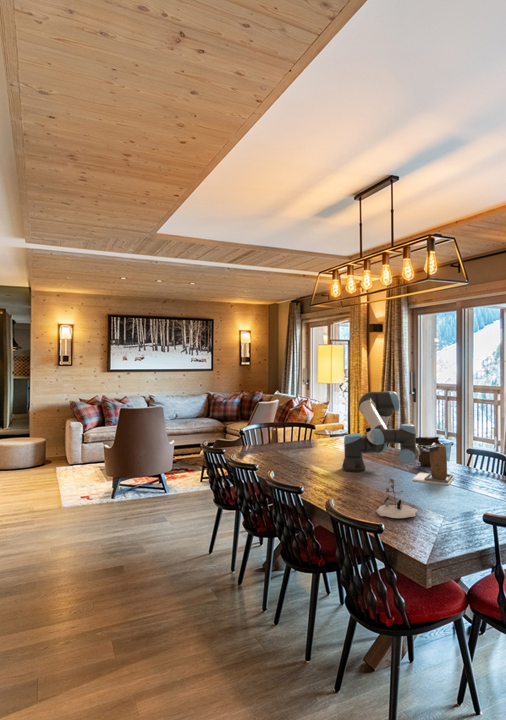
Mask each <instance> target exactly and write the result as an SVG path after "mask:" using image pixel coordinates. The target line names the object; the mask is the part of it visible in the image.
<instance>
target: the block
mask: <svg viewBox="0 0 506 720" xmlns="http://www.w3.org/2000/svg"><path fill="white" fill-rule="evenodd" d="M435 445H436V446H438V451H434V452H430V464H431V467H430V472H431V475H432V477H433V478H434V479H439V480H445V479H446V478H447V474H448V459H447V448H446V446H445V445H444V444H435Z"/></svg>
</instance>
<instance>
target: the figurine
mask: <svg viewBox="0 0 506 720" xmlns="http://www.w3.org/2000/svg"><path fill="white" fill-rule="evenodd" d="M388 480H389V481H388V482H389V483H390V487H391V488H389V487H385V492H386V493H393V497H394V498H393V499H394V504H393V505H392V504H390V503H391V502H390V499H389V498H390V497H389V496H387V497H386V498H385V499H384V502H383V503H384V504H382V505H380V506H379V507H378V509H376V513H377V514H378V515H379V516H380V517H387V518H392V519H405V518H411V517H412V518H413V517H416V516H417V513H418V509H417V508H414V507H412V506H409V505H408V504H403V503H402V499H399V500H398V502H396V494H400V493H404V491H403V490H401V491H396V492H395V488H394V487H395V479H393V478H388ZM390 490H391V491H390Z"/></svg>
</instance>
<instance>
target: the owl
mask: <svg viewBox="0 0 506 720" xmlns="http://www.w3.org/2000/svg"><path fill="white" fill-rule="evenodd" d="M433 443H435V444H441V442H440V437H439V436H425V437H424V436H418V442H417V444H418V445H419V446H422V445H423V446H431V445H432V444H433ZM418 462H419V463H420V467H421V468H422V467H423V468H431V464H430V452H429V453H426V451H425V452H422V453H421V455H420V456H419V457H418Z"/></svg>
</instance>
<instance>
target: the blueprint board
mask: <svg viewBox="0 0 506 720" xmlns="http://www.w3.org/2000/svg"><path fill="white" fill-rule="evenodd" d="M411 480H412V482H418V483H427V484H435V485H443V486H450V484H451V483H452V482H453V480H455V476H453V474H451V473H450V474H448V473H447V478H446V479H445V480H439V479H434V478H433V477H432V475H431V471H430V472H429V473H427V472H418V473H417V474H416V475H415V476H414V477H413V478H412V479H411Z"/></svg>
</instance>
